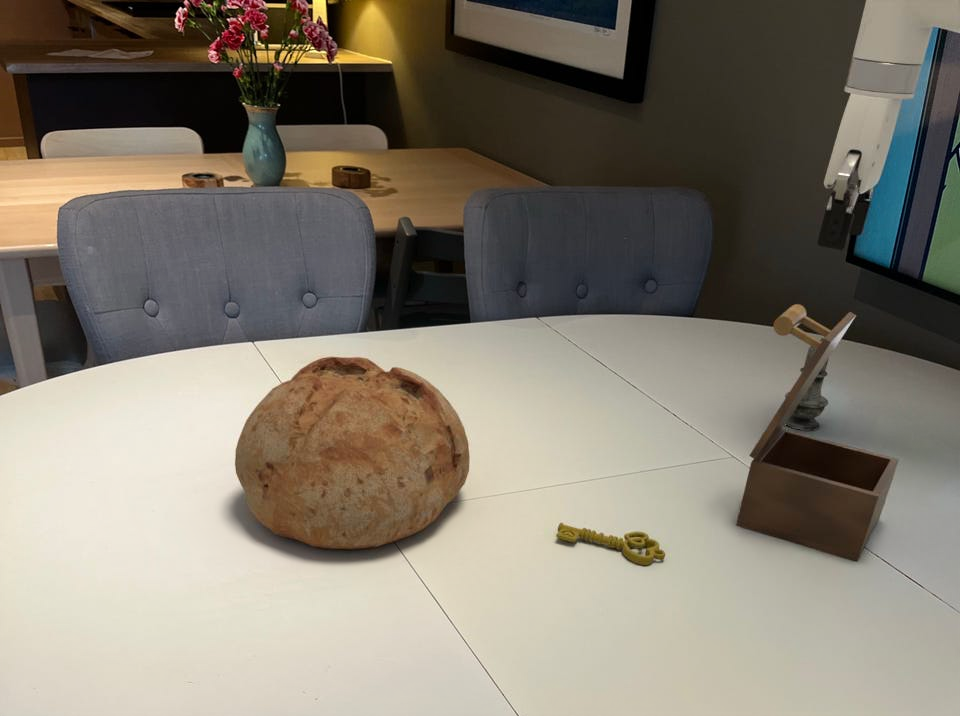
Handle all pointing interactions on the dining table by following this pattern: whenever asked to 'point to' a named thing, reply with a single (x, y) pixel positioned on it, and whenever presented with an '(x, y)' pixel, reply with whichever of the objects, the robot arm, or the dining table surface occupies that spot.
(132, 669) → the dining table surface
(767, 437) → the lid
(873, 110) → the robot arm
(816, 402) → the salt shaker
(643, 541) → the key
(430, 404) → the bread
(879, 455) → the box
